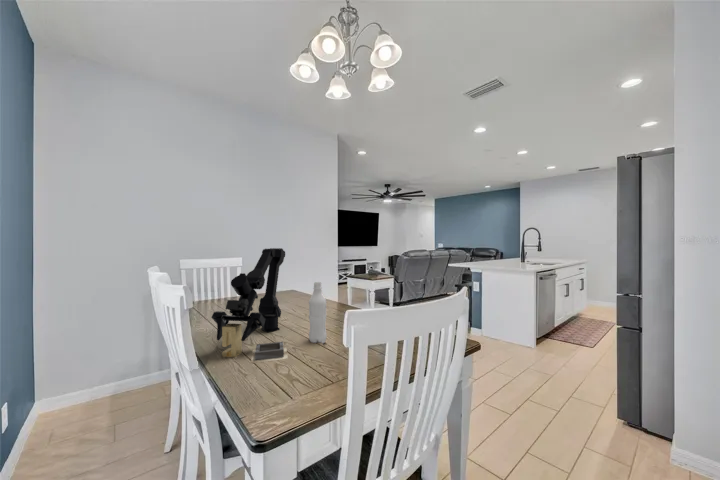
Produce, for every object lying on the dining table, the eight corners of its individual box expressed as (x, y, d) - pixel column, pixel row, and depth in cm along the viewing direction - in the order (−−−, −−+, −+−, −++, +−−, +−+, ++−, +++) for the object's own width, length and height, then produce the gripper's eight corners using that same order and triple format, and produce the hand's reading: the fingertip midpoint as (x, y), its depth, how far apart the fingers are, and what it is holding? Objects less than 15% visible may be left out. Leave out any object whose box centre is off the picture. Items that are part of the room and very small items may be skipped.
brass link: (228, 356, 105) (228, 323, 105) (241, 356, 104) (241, 323, 104) (222, 360, 101) (222, 326, 101) (235, 361, 100) (235, 327, 100)
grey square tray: (253, 353, 107) (253, 343, 107) (286, 349, 110) (286, 339, 110) (250, 367, 95) (250, 355, 95) (287, 362, 99) (287, 351, 99)
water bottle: (323, 347, 113) (323, 284, 113) (306, 345, 114) (306, 283, 114) (328, 340, 120) (328, 281, 120) (312, 339, 121) (312, 281, 121)
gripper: (214, 290, 107) (194, 328, 96) (261, 291, 105) (246, 330, 94) (226, 305, 115) (209, 343, 104) (270, 307, 113) (257, 345, 102)
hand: (229, 340), depth 101 cm, fingers open, 9 cm apart
